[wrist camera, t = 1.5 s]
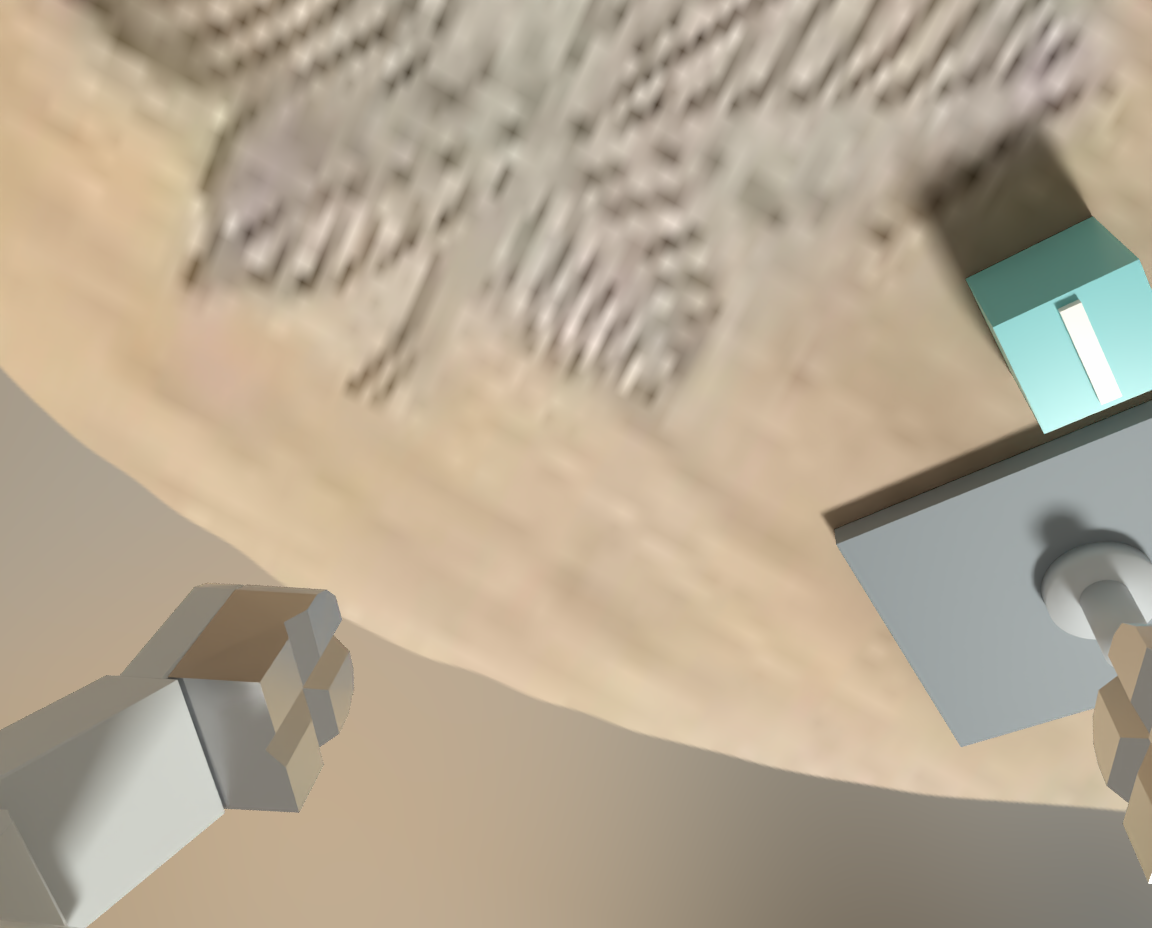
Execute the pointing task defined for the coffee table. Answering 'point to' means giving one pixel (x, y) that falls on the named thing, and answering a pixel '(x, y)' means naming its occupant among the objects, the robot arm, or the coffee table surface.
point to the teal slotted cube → (1071, 322)
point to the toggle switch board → (1017, 576)
